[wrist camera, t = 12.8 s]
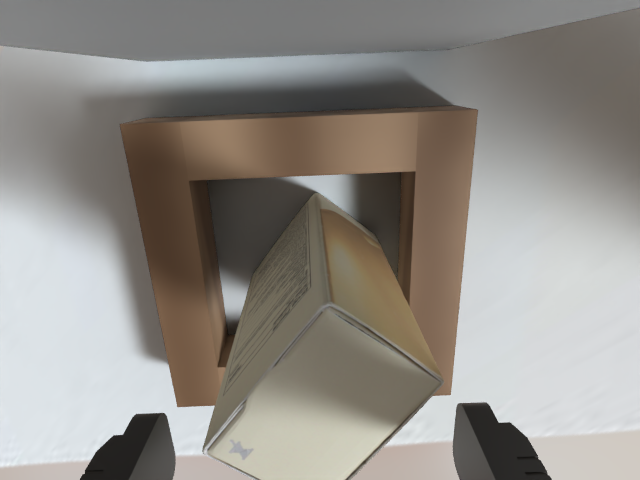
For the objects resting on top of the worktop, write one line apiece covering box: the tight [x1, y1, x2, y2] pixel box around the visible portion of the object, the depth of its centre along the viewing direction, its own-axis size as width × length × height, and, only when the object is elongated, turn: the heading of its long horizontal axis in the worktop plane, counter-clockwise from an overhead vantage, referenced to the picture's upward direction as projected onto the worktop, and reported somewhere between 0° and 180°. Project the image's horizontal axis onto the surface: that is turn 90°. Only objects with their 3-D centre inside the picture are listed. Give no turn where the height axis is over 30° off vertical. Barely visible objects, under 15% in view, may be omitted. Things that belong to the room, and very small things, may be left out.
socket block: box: [120, 106, 478, 407], centre depth 21 cm, size 15×15×3 cm
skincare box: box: [202, 193, 444, 480], centre depth 17 cm, size 6×4×12 cm
